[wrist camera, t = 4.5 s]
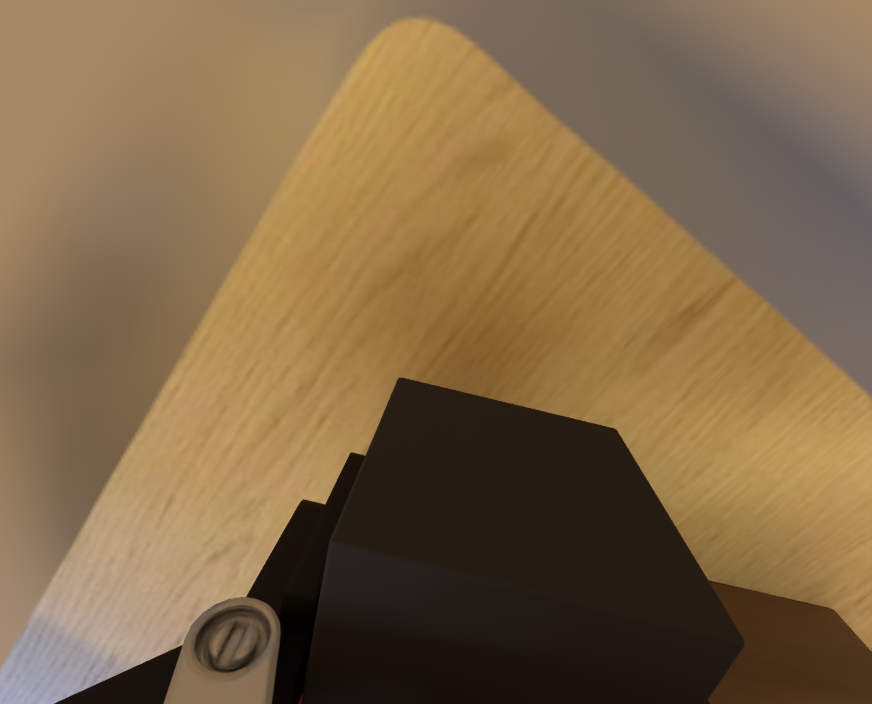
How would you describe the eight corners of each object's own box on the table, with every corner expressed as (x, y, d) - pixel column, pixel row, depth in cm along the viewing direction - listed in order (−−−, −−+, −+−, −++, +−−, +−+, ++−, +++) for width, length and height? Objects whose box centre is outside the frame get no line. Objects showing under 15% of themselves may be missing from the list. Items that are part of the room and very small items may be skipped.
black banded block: (349, 599, 12) (263, 879, 7) (396, 374, 10) (314, 561, 5) (528, 642, 12) (565, 953, 7) (619, 428, 10) (771, 672, 5)
